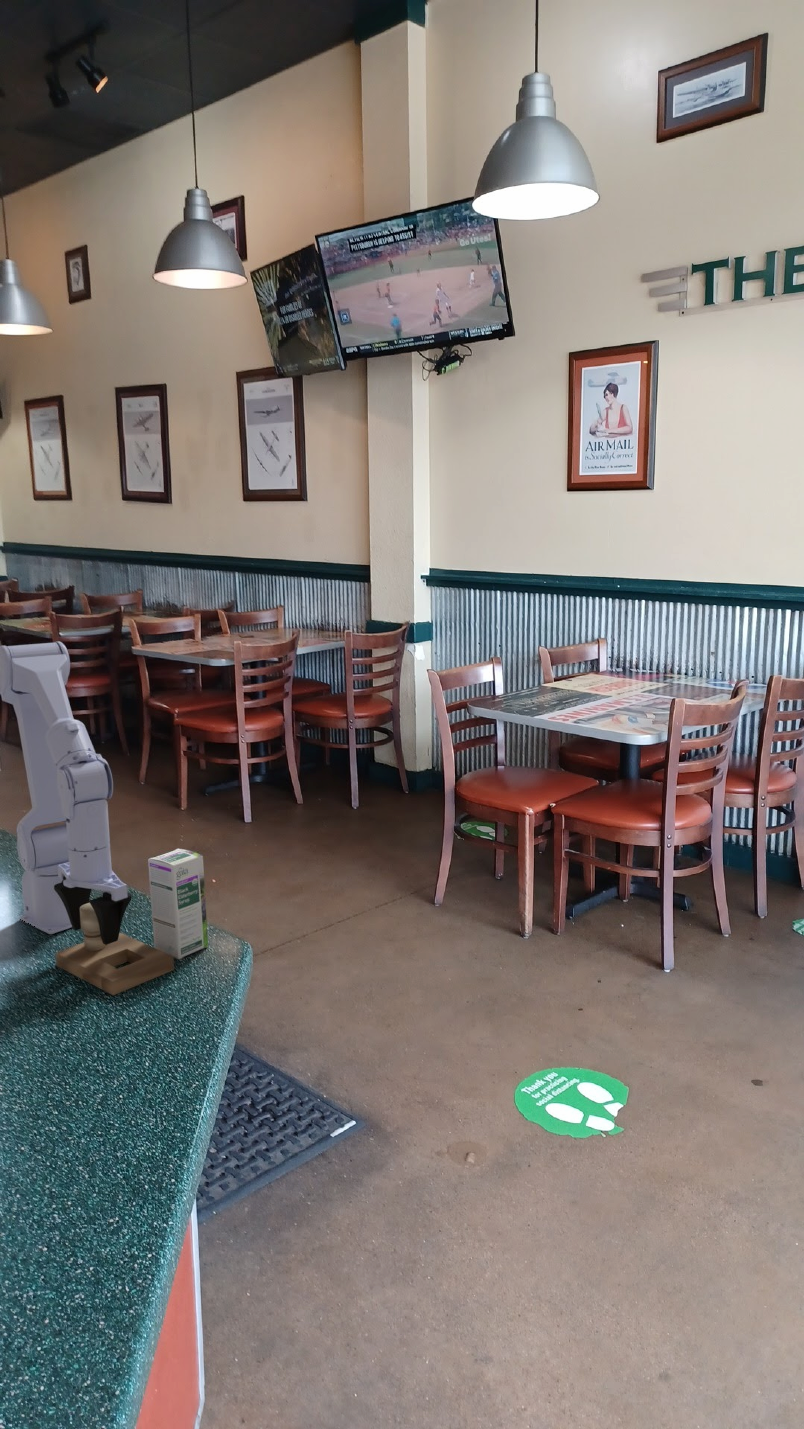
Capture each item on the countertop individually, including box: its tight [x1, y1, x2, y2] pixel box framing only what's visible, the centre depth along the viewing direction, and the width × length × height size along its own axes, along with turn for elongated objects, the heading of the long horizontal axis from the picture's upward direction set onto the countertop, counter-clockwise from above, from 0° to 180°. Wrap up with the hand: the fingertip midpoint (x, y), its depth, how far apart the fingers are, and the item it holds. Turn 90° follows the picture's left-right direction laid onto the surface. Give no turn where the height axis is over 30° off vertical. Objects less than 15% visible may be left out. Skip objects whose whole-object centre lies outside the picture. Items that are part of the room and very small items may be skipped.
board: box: [55, 931, 175, 996], centre depth 143 cm, size 14×10×2 cm
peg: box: [80, 902, 108, 951], centre depth 145 cm, size 4×4×6 cm
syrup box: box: [147, 848, 209, 960], centre depth 147 cm, size 6×6×14 cm
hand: (95, 934), depth 145 cm, fingers open, 7 cm apart
